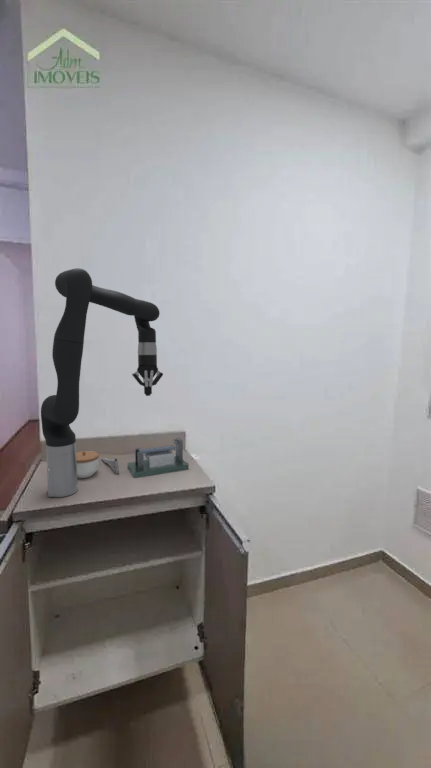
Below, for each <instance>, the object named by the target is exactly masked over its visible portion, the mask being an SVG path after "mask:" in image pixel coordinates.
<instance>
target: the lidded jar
mask: <svg viewBox="0 0 431 768" xmlns="http://www.w3.org/2000/svg"><path fill="white" fill-rule="evenodd" d="M99 455H100V454H99V453H98V452H96V451H90V450H89V451H87V450H86V451H85V450H82V451H78V452H76V458H77V479H78V478H79V479H86V478H90V477H92V476H94V474H95V472H97V470H98V467H99V462H100V461H99V457H100V456H99Z"/></svg>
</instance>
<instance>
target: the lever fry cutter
mask: <svg viewBox="0 0 431 768" xmlns="http://www.w3.org/2000/svg"><path fill="white" fill-rule="evenodd" d="M173 444H175V453H174V452H173V450H168V451H160V452H153V453H145V454H143V452H138V449H141V447H140V448H139V447H138V448H134V461H130V462H127V470H128V471H129V473H130V474H131V476H132V477H133V479H136V478H143V477H151V476H155V475H162V474H168V473H173V472H174V473H175V472H181V471H188V470H189V464H188V462H186V461H185V460H184V459H183V458H184V457H183V454H184V453H183V452H184V451H183V449H184V448H183V447H184V446H183V445H184V443H183V440H182V438H180V437H177V438H175V439H173Z"/></svg>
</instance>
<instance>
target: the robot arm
mask: <svg viewBox="0 0 431 768" xmlns="http://www.w3.org/2000/svg"><path fill="white" fill-rule="evenodd" d="M54 286H55V289H56V291H57V292H58V293H59V294H60V295H61V296H62V297H64V298H65V307H64V312H63V315H62V317H61V319H60V320H59V323H58V325H57V327H56V330H55V333H54V336H53V341H52V342H53V343H52V350H51V352H52V355H51V356H52V362H53V366H54V369H55V370H54V371H55V373H56V378H57V387H56V394H52V395H48V396H47V397H46V398H45V399H44V400H43V402H42V404H41V407H40V418H41V419H40V421H41V429H42V435H43V437H44V440H45V451H46V472H47V474H46V475H47V477H46V478H47V491H48V492H47V493H48V498H63V497H68V496H72V495H73V494H75V493H77V491H79V486H78V485H79V483H78V477H77V458H76V453H77V442H76V440H77V438H76V433H75V432H74V430H72V428H71V426H70V425H71V424H73V423H74V422H75V421H76V419H77V418H78V415H79V411H80V380H81V379H80V378H81V371H82V370H81V369H82V368H81V367H82V359H83V352H84V345H85V332H86V323H87V314H88V310H89V305H90V303H91V304H95V305H98V306H102V307H105V308H107V309H111V310H112V311H115V312H118V313H121V314H124V315H126V316H131V317H132V316H133V317H134V321H135V322H134V323H135V325H136V329H137V331H138V332H137V333H138V335H137V339H138V344H137V369H136V371H135V372H133V373H132V374H131V376H132V377H133V378H134V379H135V381H136V382H137V383H138V384H139V386H142V387H143V393H144V395H145V396H147V397H148V396H149V397H150V396H151V395H152V394H153V391H152V389H153V386H156V385H157V383H158V382H159V381H160V380H161V379H162V377H163V375H164V373H163V372H161V371H159V368H158V360H157V359H158V356H157V355H158V354H157V352H158V348H157V331H156V329H155V328H153V327H151V324H150V322H155V321H156V320H158V318H159V317H160V315H161V314H160V313H161V312H160V309H159V307H158V306H157V305H156V304H154V303H152V302H150V301H146V300H143V299H138V298H135V297H132V296H130V295H128V294H125V293H122V292H120V291H116V290H114V289H113V290H112V289H109V288H103V287H99V286H98V285H97V286H96V285H94V284H93V281H92V277H91V275H90V274H89V272H88V271H86V270H85V269H83V268H77V267H75V268H71V269H68V270H65V271H62V272H60V273H59V274H58V275H57V276H56V278H55V281H54ZM140 377H141V378H142V379H141V378H140Z"/></svg>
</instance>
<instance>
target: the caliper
mask: <svg viewBox="0 0 431 768" xmlns="http://www.w3.org/2000/svg"><path fill="white" fill-rule="evenodd" d="M101 459H102V460H103V461H104V462H103V461H102V460H101V461H102V462H103V463H105V464H108V465H110V467H112V468H113V472H114V474H115V475H119V474H120V473H119V472H120V468H119V467H120V466H119V461H118V458H117V457H114V458H113V459H109V458H106V457H102V458H101Z"/></svg>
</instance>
